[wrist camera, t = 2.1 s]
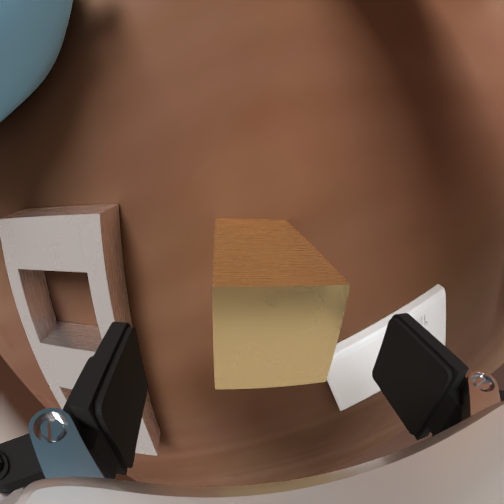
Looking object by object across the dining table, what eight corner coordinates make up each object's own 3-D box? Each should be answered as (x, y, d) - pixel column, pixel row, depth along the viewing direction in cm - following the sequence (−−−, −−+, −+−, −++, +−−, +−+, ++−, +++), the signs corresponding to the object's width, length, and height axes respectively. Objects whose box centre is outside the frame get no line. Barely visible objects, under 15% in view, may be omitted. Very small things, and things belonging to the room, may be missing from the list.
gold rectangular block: (215, 218, 16) (212, 286, 8) (285, 220, 17) (350, 284, 8) (214, 283, 18) (215, 389, 9) (280, 283, 18) (325, 381, 10)
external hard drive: (313, 350, 21) (435, 281, 20) (335, 401, 24) (437, 342, 23) (319, 363, 19) (446, 289, 19) (341, 413, 22) (445, 350, 22)
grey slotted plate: (23, 209, 14) (-2, 219, 11) (118, 203, 15) (99, 213, 12) (90, 421, 21) (83, 442, 18) (160, 432, 22) (157, 455, 19)
